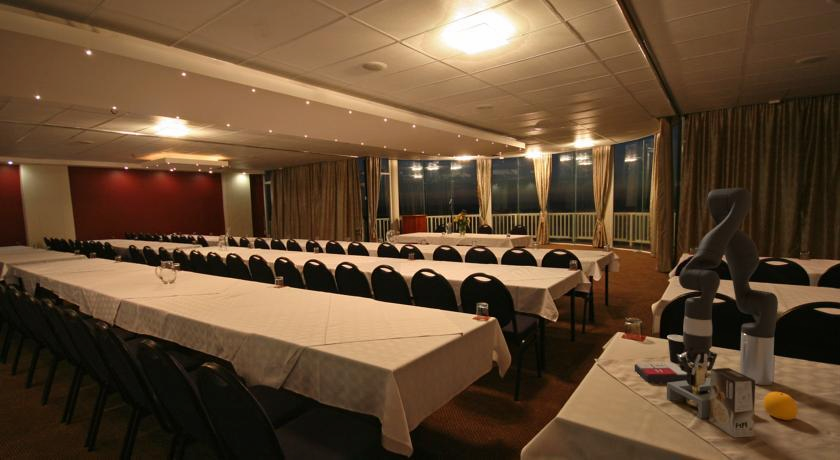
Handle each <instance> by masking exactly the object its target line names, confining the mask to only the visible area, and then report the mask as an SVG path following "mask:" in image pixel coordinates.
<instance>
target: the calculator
mask: <svg viewBox="0 0 840 460" xmlns="http://www.w3.org/2000/svg"><path fill="white" fill-rule="evenodd" d="M634 372H635V373H636V372H637V373H636V374H639V375H640V376H639V375H638V376H639V377H640V378H642V380H643V381H645V382H646V383H647V382H648V383H647V384H666V383H668V382H677V381H685V380H687V373H686V372H684V371H682V370H681V369H680V367H679V366H677V365H676V364H674V363H671V362H670V363H669V362H668V363H663V362H656V363H655V362H652V363H651V362H650V363H649V362H648V363H646V362H645V363H636V364H634Z"/></svg>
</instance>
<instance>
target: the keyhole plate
mask: <svg viewBox="0 0 840 460" xmlns="http://www.w3.org/2000/svg"><path fill="white" fill-rule="evenodd" d="M687 398H688V399H690V400H692V401H694V402H696V403H698V408H697V417H698V418H699V417H700V418H699V419H708V418H709V414H710V377H706V381H705V385H700V395H694V394H692V386H691V385H689V384H688V383H687V380H685V381H677V382H668V383H667V384H666V400H668V401H676V400H683V399H687ZM674 399H675V400H674Z"/></svg>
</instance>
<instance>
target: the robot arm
mask: <svg viewBox="0 0 840 460" xmlns="http://www.w3.org/2000/svg"><path fill="white" fill-rule="evenodd" d="M752 198H753V197H752V194H751V191H749V190H748V189H747V188H744V187H736V188H735V187H733V188H732V187H731V188H730V187H729V188H718V189H712V190H710V191H709V192H708V195H707V198H706V199H707V200H706V202H707V207H708V208H707V209H708V211H709V214H710V216H711V219H712V221H713V223H714V226H715V227H714V228H712V229H711V230H710V231H708V232H707V233H706V234H705V236H704V237H703V238H701V241H700V242H699V245H698V246H697V250H696V252H695V254H694V256H693V257H692V258H691V259H690V261H688V262H687V264H686V265H684V267H683V268H682V269H681V271H680V274H679V276H678V283H679V285H680V286H681V287H682V288H683V289H685V290H687V291H689V290H690V291H695V292H701V293H702V294H701V295H700V297H699V296H698V297H696V296H695V297H688V298H687V299H686V300H685V302H684V318H683V330H682V331H683V332H682V333H683V334H682V336H683V343H684V345H685V350H684V353H683V354H681V355H680V354H677V355H676V357H677V360H678V363H679V366H680V369H681V370H682V371H684V372H686V373H687V383H688V384H689V385H691V386H695V375H694V374H695V371H696V368H698V366H699V367H701V368H703V369H705V381H706V378H707V377H706V376H707V374H708V372H710V369H714V366H715V362H716V359H717V357H718V353H716V352H714V351H711V350H710V349H711V348H712V343H713V322H712V321H713V320H712V318H713V317H712V316H713V315H712V314H713V305H714V301H715V297H716V295H717V292H718V290H719V288H720V284H721V278H720V276H719V274H718V273H717V271H715V270H712V269H715V268H718V267H719V266H720V264H721V263H722V260H723V257H724V256H725V257H724V258H725V261H726V264H727V266H728V269H729V274H730V278H731V280H732V285H733V291H734V298H735V302H736V307H737V308H738V310H739V311H740V312H741V313H742V314H743V313H744V314H745V315H746V314H747V315H752V316H755V317H759V320H758V321H757V322H747V323H743V324H742V325H741V327H740V328H741V330H740V334H741V335H740V353H739V354H740V358H739V373H741V374H743V375H745V376H747V377H749V378H751V379H753V380H755V385H759V386H771V385H772V384H773V383H774V382H775V368H776V367H775V366H776V357H775V356H774V353H775V352H774V350H775V349H774V347H775V331H776V326H777V325H776V324H777V315H778V309H779V307H778V306H779V300H778V297H777V295H776V294H775V293H773V292H769V291H765V290H757V289H752V288H751V286H750V283H749V281H750V279H751V277H752V275H753V274H754V273H755V271H756V270H757V269H758V266H759V265H760V255H759V252H758V248H757V245H756V243H755V241H754V240H753V239H752V238H751V237H750V236H749V235H748V234H747V233H745V232H744V231H743V230H742V229H741V228H739V227H740V226H741V224H742V223H743V221H744V219H746V217H747V215H748V213H749V212H750V209H751V206H752V200H753V199H752ZM710 269H711V270H710ZM708 363H709V364H708ZM679 366H678V367H679ZM690 366H691V367H692V368H691V370H690Z"/></svg>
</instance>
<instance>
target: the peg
mask: <svg viewBox="0 0 840 460" xmlns="http://www.w3.org/2000/svg"><path fill="white" fill-rule="evenodd" d="M691 368H692V367H691V366H690V370H691ZM694 375H695V386H692V394H694V395H700V385H705V369H703V368H701V367H699V366H698V368H696V371H695V374H694ZM685 403H686V404H687V405H688V406H690V407H692V408H696V409H698V403H696V402H694V401H692V400H690V399H688V398H686V402H685Z"/></svg>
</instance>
